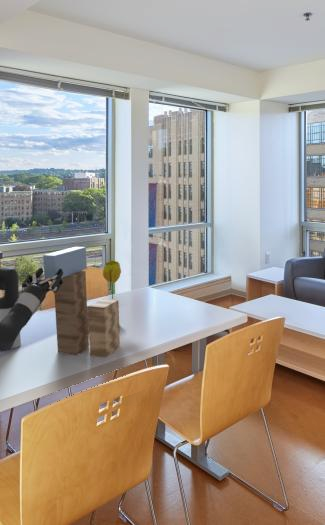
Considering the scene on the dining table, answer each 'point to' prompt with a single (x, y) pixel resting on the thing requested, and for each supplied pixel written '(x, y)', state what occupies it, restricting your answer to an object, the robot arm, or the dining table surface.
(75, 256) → the rail
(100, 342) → the step
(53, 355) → the dining table surface
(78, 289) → the pedestal
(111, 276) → the flower
